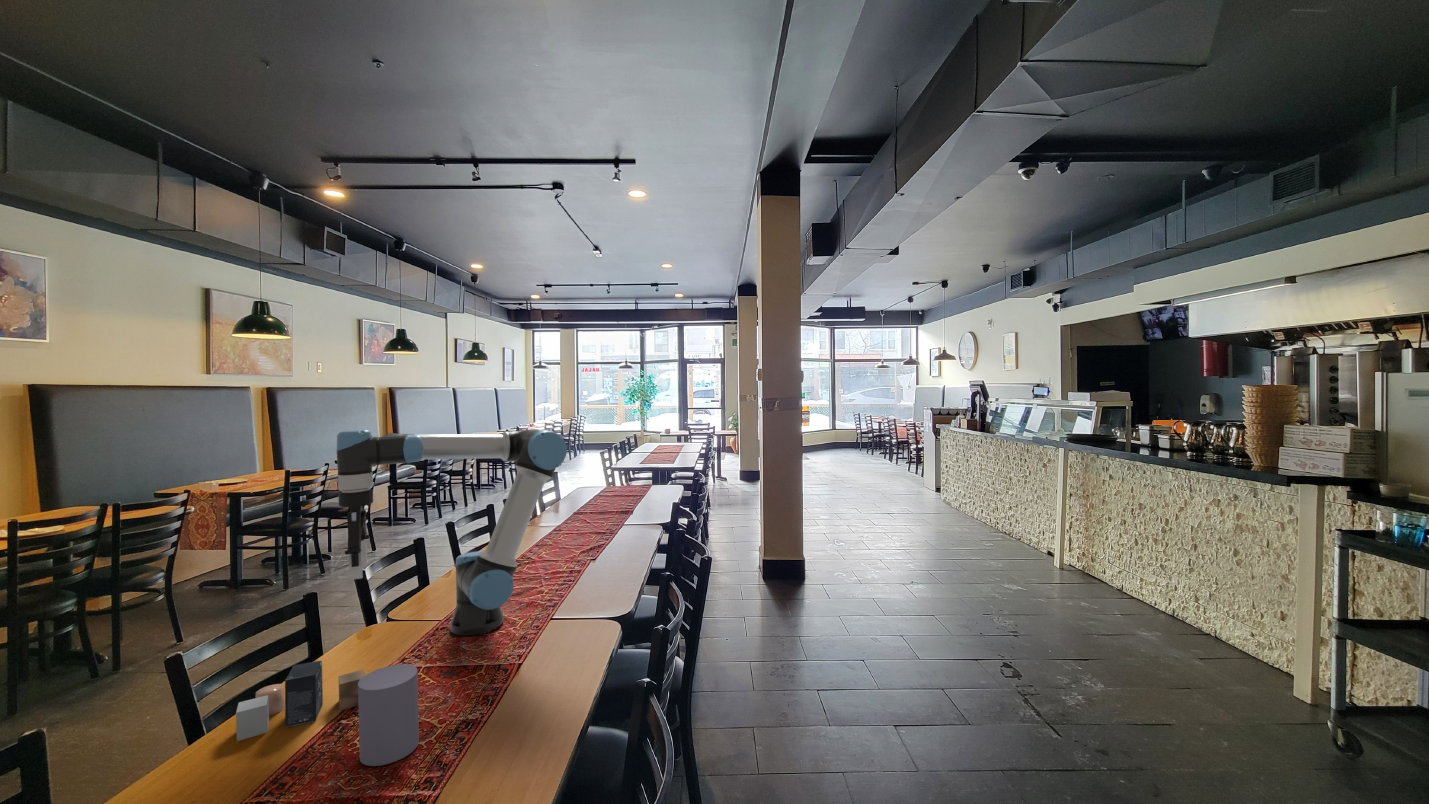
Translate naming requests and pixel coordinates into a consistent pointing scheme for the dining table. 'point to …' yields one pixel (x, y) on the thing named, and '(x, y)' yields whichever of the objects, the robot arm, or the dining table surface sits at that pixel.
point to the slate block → (252, 717)
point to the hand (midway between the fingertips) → (358, 571)
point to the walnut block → (349, 689)
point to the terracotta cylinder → (273, 697)
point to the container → (388, 714)
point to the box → (303, 693)
